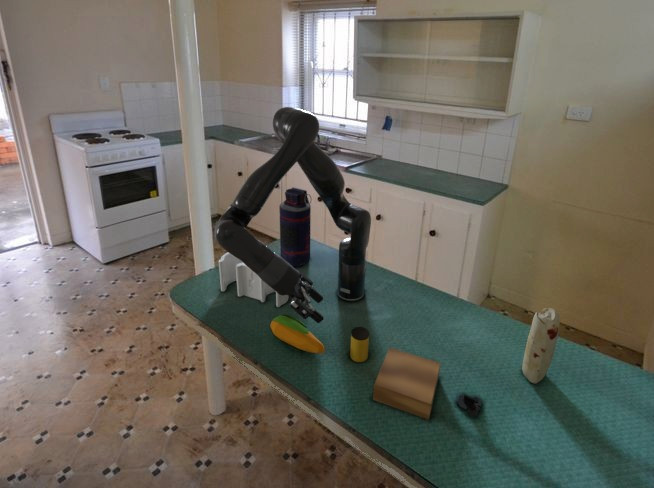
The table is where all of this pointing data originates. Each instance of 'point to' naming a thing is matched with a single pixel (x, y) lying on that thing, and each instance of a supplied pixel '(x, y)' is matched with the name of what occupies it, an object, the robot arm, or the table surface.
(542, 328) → the food model
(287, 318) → the corn
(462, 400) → the block figure
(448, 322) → the table surface
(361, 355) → the tin
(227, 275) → the bracket
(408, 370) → the wood block
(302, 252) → the navy water bottle
